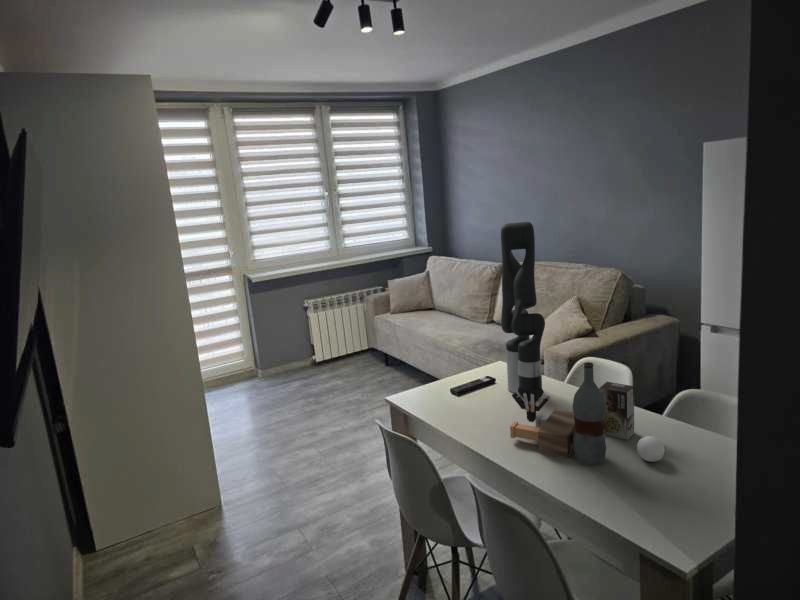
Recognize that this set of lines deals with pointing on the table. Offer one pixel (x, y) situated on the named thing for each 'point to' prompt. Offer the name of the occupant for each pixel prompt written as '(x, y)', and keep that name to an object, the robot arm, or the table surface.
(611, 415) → the coffee box
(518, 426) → the rust plug
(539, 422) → the grey plug
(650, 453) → the white egg
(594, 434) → the bottle
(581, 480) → the table surface
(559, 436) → the socket block
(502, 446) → the table surface
